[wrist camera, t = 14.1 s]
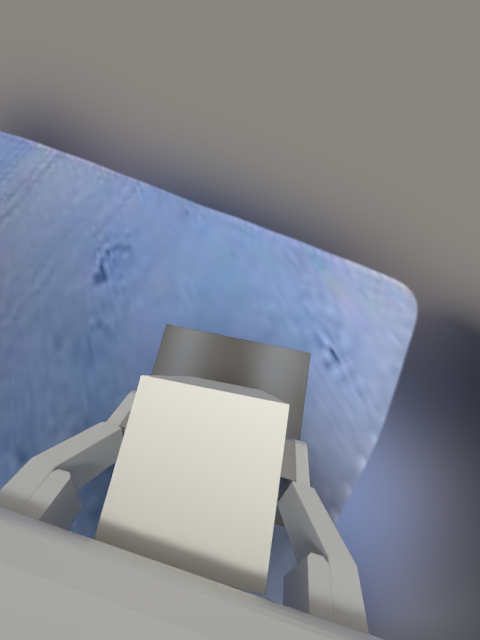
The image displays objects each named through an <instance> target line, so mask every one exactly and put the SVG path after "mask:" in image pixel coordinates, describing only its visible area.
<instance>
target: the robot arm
mask: <svg viewBox="0 0 480 640" xmlns="http://www.w3.org/2000/svg"><path fill="white" fill-rule="evenodd" d="M135 395H136V391H135V390H132V391H131V392H130V393H128V395H127V396H126V397H125V399H124V400H123V401H122V402H121V404H120V405H119V406H118V407H117V409H116V410H115V411H114V412H113V414H112V415H111V416H110V417H109V419H108V420H107V421H106V422H103V421H102V422H100V423H98V424H96V425H94V426H92V427H90V428H88V429H87V430H85V431H83V432H81V433H79V434H77V435H75V436H73V437H71V438H69V439H67V440H65V441H63V442H61V443H59V444H57V445H56V446H54V447H52V448H50V449H48V450H46V451H44V452H42V453H40V454H38V455H36V456H34V457H32V458H31V459H30V460H29V461H28V462H27V463H26V464H25V465H24V466H23V467H22V468H21V469H20V470H19V471H18V472H17V473H16V474H15V475H14V476H13V477H12V478H11V480H10V481H9V482H8V483H7V484H6V485H5V486H4V487H3V488H2V489H1V490H0V640H383V639H381V638H378V637H375V636H372V635H369V631H368V625H367V620H366V614H365V608H364V603H363V598H362V592H361V586H360V580H359V575H358V569H357V566H356V564H355V562H354V560H353V558H352V557H351V555H350V553H349V551H348V549H347V547H346V545H345V544H344V542H343V540H342V538H341V536H340V534H339V533H338V531H337V529H336V527H335V525H334V524H333V522H332V520H331V518H330V516H329V514H328V513H327V511H326V509H325V507H324V505H323V503H322V502H321V500H320V498H319V496H318V494H317V492H316V491H315V489H314V488H312V487H310V475H309V462H308V448H307V444H306V443H305V442H303V441H299V440H296V439H293V438H290V437H287V436H285V444H284V452H283V459H282V467H281V475H280V482H279V490H278V498H277V505H278V508H279V511H280V514H281V517H282V520H283V522H284V525H285V528H286V531H287V534H288V537H289V540H290V542H291V545H292V548H293V551H294V554H295V557H296V559H297V562H298V564H297V565H296V566H295V567H293V568H292V569H291V570H290V571H289V572H288V573H287V574H286V575H285V576H284V594H283V605H282V604H279V603H277V602H274V601H271V600H268V599H265V598H262V597H259V596H256V595H253V594H251V593H248V592H245V591H242V590H239V589H236V588H233V587H230V586H227V585H225V584H222V583H219V582H216V581H213V580H210V579H207V578H204V577H201V576H199V575H196V574H193V573H190V572H187V571H184V570H181V569H178V568H175V567H173V566H170V565H167V564H164V563H161V562H158V561H155V560H152V559H149V558H147V557H144V556H141V555H138V554H135V553H132V552H129V551H126V550H123V549H121V548H118V547H115V546H112V545H109V544H106V543H103V542H100V541H97V540H95V539H92V538H89V537H86V536H83V535H80V534H77V533H74V532H71V531H69V530H68V528H69V527H70V525H71V524H72V522H73V520H74V519H75V517H76V516H77V514H78V513H79V511H80V509H81V508H82V507H81V501H80V498H79V496H78V493H77V490H79V489H80V488H81V487H83V486H84V485H85V484H87V483H88V482H89V481H91V480H92V479H93V478H95V477H96V476H97V475H99V474H100V473H102V472H103V471H104V470H106V469H107V468H108V467H110V466H111V465H112V464H114V463H115V462H116V461H117V457H118V454H119V450H120V447H121V443H122V440H123V436H124V433H125V430H126V426H127V423H128V419H129V416H130V412H131V409H132V405H133V402H134V398H135Z"/></svg>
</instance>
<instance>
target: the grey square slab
mask: <svg viewBox="0 0 480 640" xmlns="http://www.w3.org/2000/svg"><path fill="white" fill-rule="evenodd" d="M310 354H311V353H307V352H302V351H297V350H292V349H287V348H282V347H277V346H272V345H267V344H262V343H258V342H253V341H248V340H243V339H238V338H233V337H228V336H223V335H218V334H213V333H208V332H203V331H198V330H193V329H189V328H184V327H179V326H174V325H169V324H166V327H165V331H164V334H163V338H162V341H161V345H160V348H159V352H158V355H157V359H156V362H155V365H154V369H153V372H152V375H161V376H193V377H198V378H203V379H208V380H213V381H218V382H223V383H228V384H233V385H238V386H243V387H248V388H253V389H258V390H262V391H264V392H266V393H268V394H270V395H272V396H274V397H276V398H278V399H280V400H282V401H284V402H286V403H288V404H290V405H289V413H288V421H287V429H286V436H287V437H290V438H293V439H296V440H300V432H301V425H302V417H303V409H304V401H305V393H306V386H307V378H308V370H309V362H310ZM274 524H277V525H282V526H285V525H284V522H283V520H282V517H281V514H280V511H279V508H278V505H276V513H275V521H274Z"/></svg>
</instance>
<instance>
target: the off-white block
mask: <svg viewBox="0 0 480 640" xmlns="http://www.w3.org/2000/svg"><path fill="white" fill-rule="evenodd" d="M289 405H290V404H288V403H286V402H284V401H282V400H280V399H278V398H276V397H274V396H272V395H270V394H268V393H266V392H264V391H262V390H258V389H253V388H248V387H243V386H238V385H233V384H228V383H223V382H218V381H213V380H208V379H203V378H198V377H193V376H161V375H141V377H140V381H139V384H138V388H137V391H136V395H135V398H134V402H133V405H132V409H131V412H130V416H129V419H128V423H127V426H126V430H125V433H124V436H123V440H122V443H121V447H120V450H119V454H118V457H117V461H116V464H115V468H114V471H113V475H112V478H111V482H110V485H109V489H108V492H107V495H106V499H105V502H104V506H103V509H102V513H101V516H100V520H99V523H98V527H97V530H96V534H95V537H94V539H95V540H97V541H100V542H103V543H106V544H109V545H112V546H115V547H118V548H121V549H123V550H126V551H129V552H132V553H135V554H138V555H141V556H144V557H147V558H149V559H152V560H155V561H158V562H161V563H164V564H167V565H170V566H173V567H175V568H178V569H181V570H184V571H187V572H190V573H193V574H196V575H199V576H201V577H204V578H207V579H210V580H213V581H216V582H219V583H222V584H225V585H227V586H230V587H233V588H237V589H242V590H246V591H250V592H255V593H259V594H263V595H265V590H266V582H267V575H268V567H269V559H270V552H271V544H272V536H273V528H274V521H275V513H276V505H277V498H278V490H279V482H280V475H281V467H282V459H283V452H284V444H285V436H286V429H287V421H288V413H289Z"/></svg>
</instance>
